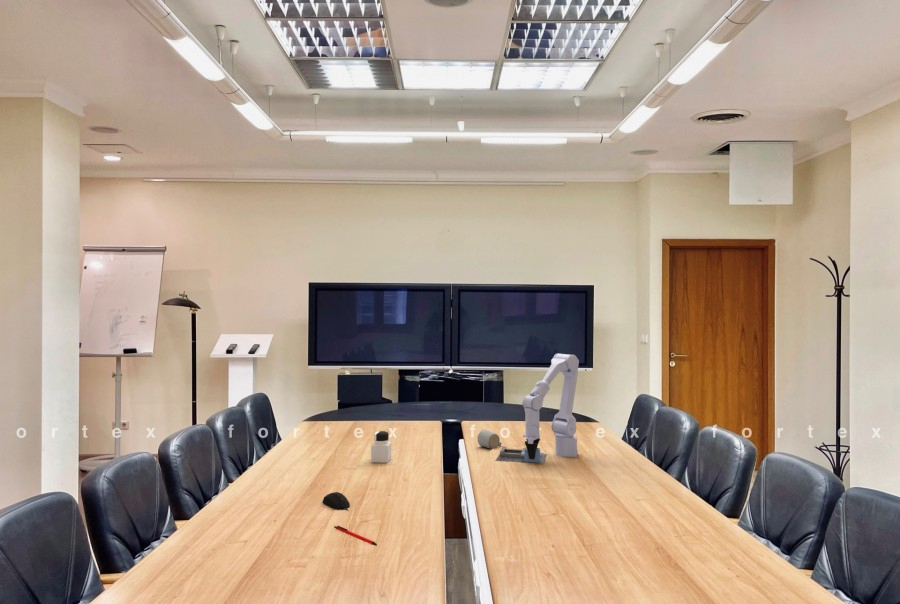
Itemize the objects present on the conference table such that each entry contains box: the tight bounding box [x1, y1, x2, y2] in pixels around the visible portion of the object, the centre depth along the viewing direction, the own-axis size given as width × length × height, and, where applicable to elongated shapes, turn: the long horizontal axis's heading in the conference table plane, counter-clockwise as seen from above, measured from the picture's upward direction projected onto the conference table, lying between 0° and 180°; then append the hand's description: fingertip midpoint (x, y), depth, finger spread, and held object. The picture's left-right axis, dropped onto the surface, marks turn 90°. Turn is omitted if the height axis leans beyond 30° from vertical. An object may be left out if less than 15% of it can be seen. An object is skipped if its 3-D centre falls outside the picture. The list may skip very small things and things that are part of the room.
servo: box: [521, 446, 545, 463], centre depth 234 cm, size 9×4×6 cm, turn 76°
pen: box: [333, 525, 378, 546], centre depth 159 cm, size 1×19×1 cm, turn 48°
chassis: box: [495, 446, 548, 465], centre depth 240 cm, size 20×16×3 cm
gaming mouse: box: [322, 491, 351, 512], centre depth 183 cm, size 6×15×4 cm, turn 39°
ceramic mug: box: [477, 429, 503, 449], centre depth 261 cm, size 11×8×8 cm
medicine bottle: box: [370, 430, 392, 464], centre depth 238 cm, size 7×7×12 cm
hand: (532, 457), depth 234 cm, fingers closed on servo, 4 cm apart
